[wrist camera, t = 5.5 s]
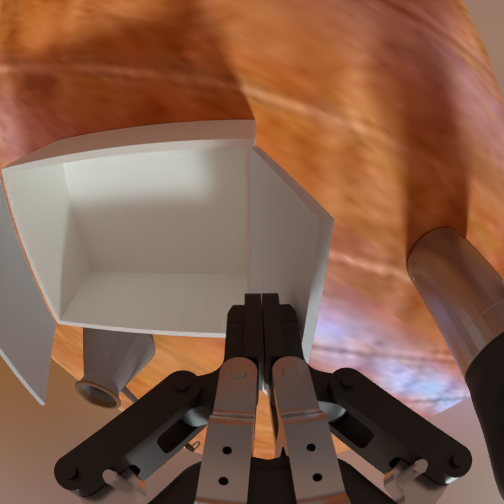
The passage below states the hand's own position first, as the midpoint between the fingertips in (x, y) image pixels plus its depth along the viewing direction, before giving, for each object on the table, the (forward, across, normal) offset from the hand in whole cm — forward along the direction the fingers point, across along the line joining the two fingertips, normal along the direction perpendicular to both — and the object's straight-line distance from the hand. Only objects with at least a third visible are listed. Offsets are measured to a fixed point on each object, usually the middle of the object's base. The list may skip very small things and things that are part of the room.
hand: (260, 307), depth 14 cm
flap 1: (+4, +20, +3) cm, 21 cm away
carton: (+19, +11, +3) cm, 23 cm away
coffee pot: (+20, +16, +26) cm, 36 cm away
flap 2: (+3, -1, +3) cm, 5 cm away
